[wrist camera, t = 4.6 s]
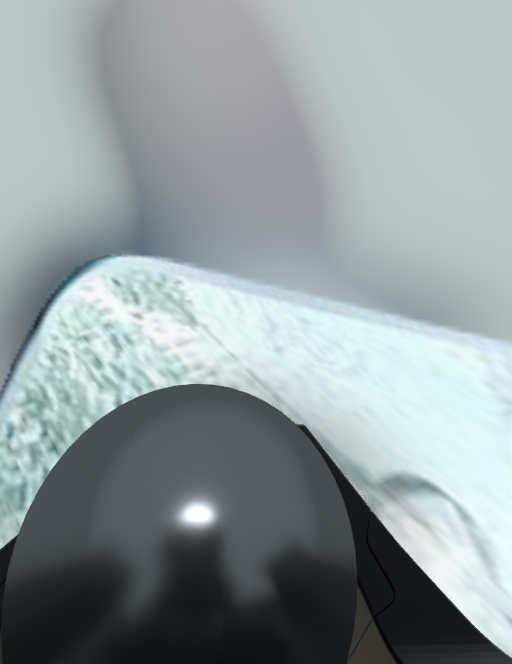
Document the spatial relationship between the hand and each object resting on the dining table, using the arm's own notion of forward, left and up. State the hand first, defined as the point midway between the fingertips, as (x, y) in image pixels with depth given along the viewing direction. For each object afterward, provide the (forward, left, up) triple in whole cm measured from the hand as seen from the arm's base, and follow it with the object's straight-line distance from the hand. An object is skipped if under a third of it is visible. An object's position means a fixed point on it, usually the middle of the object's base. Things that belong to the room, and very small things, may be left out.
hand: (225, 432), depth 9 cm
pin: (-1, 0, -7) cm, 7 cm away
